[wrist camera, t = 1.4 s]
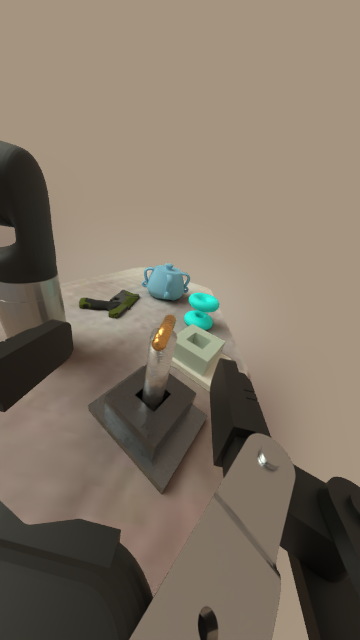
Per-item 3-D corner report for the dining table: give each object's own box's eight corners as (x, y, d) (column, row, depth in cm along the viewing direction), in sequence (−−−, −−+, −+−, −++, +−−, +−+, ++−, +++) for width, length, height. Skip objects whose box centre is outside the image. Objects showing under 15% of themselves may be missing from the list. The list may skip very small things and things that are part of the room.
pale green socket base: (154, 353, 42) (157, 334, 39) (181, 334, 51) (185, 318, 48) (209, 392, 36) (218, 372, 33) (229, 363, 45) (238, 345, 42)
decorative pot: (166, 286, 84) (170, 258, 77) (189, 299, 76) (197, 269, 69) (138, 290, 73) (140, 258, 66) (162, 306, 65) (167, 271, 58)
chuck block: (88, 410, 28) (85, 387, 25) (142, 370, 37) (144, 350, 34) (161, 494, 21) (169, 476, 18) (205, 420, 30) (215, 400, 27)
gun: (105, 289, 69) (140, 299, 69) (73, 309, 52) (119, 321, 52) (105, 284, 68) (141, 293, 67) (72, 302, 51) (120, 314, 51)
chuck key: (153, 434, 26) (173, 346, 17) (133, 428, 26) (142, 337, 17) (164, 396, 31) (184, 315, 22) (147, 391, 31) (160, 309, 23)
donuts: (184, 296, 52) (197, 289, 60) (178, 323, 57) (190, 313, 65) (214, 308, 48) (224, 299, 56) (205, 336, 53) (215, 323, 61)
